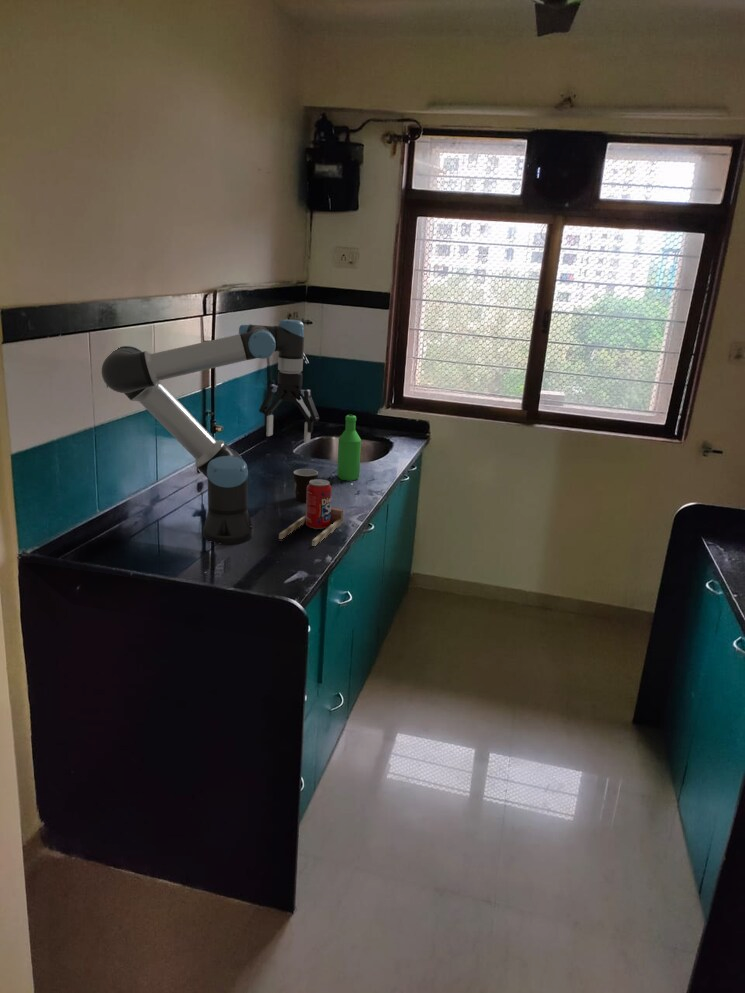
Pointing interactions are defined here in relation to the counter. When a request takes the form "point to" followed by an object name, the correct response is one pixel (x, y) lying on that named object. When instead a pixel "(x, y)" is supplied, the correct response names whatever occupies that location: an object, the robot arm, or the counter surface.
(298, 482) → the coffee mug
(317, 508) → the soda can
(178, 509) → the counter surface
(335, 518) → the guide track
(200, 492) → the counter surface
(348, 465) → the bottle
